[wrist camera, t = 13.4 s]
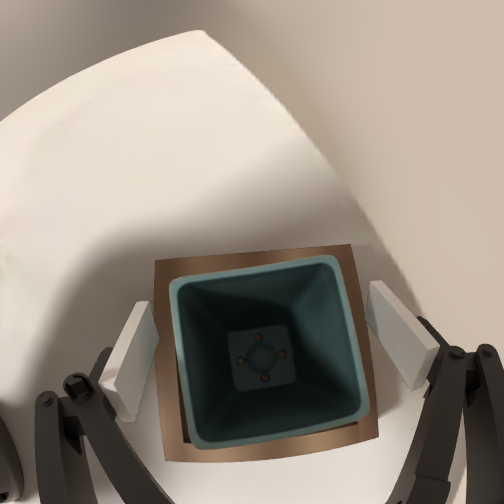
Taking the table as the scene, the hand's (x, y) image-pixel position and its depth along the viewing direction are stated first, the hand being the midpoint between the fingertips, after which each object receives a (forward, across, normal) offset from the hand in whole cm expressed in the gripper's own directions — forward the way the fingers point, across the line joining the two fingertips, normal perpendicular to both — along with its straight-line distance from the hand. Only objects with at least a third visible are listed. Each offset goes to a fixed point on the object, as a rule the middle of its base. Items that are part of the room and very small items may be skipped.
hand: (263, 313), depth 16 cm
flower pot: (+3, 0, -6) cm, 7 cm away
